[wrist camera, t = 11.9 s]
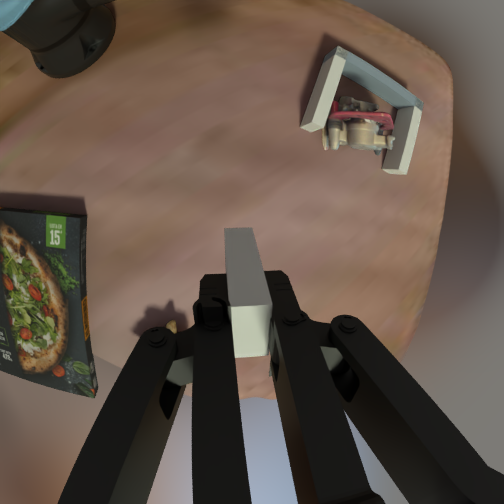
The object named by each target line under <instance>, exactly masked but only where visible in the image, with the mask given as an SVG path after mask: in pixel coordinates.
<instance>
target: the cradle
mask: <svg viewBox="0 0 504 504" xmlns="http://www.w3.org/2000/svg"><path fill="white" fill-rule="evenodd" d="M341 74H342V75H344V76H346V77H347V78H349V79H351V80H353V81H354V82H356V83H358V84H359V85H361V86H363V87H364V88H366V89H368V90H369V91H371V92H372V93H374V94H376V95H377V96H379V97H380V98H382V99H383V100H385V101H386V102H388V103H389V104H391V105H392V106H394V107H395V108H397V109H398V111H397V115H396V119H395V123H394V128H393V131H392V135H391V136H394V137H395V140H393V144H392V145H393V147H392V149H391V150H389V149H387V153H386V156H385V159H384V163H383V166H382V170H384V171H386V172H387V173H389V174H404V175H406V174H407V171H408V167H409V164H410V160H411V156H412V152H413V149H414V145H415V141H416V136H417V132H418V128H419V123H420V119H421V114H422V109H423V104H424V103H423V102H422V101H421V100H419V99H418V98H417V97H416V96H414V95H413V94H412V93H410V92H409V91H408V90H406V89H405V88H404V87H402V86H401V85H400V84H398V83H397V82H396V81H394V80H393V79H391V78H390V77H388V76H387V75H385V74H384V73H383V72H381V71H380V70H378V69H376V68H375V67H373V66H372V65H370V64H369V63H367V62H365V61H364V60H362V59H361V58H359V57H357V56H356V55H354V54H352V53H350V52H349V51H347V50H345V49H343V48H341V47H340V46H337V47H336V48H334V49H333V50H332V51H330V52H329V53H328V54H327V55H325V58H324V60H323V63H322V66H321V69H320V72H319V75H318V77H317V80H316V83H315V86H314V89H313V92H312V94H311V97H310V100H309V103H308V106H307V108H306V111H305V114H304V117H303V120H302V122H301V125H300V128H302V129H305V130H307V131H309V132H313V131H316V130H319V129H322V128H324V126H325V123H326V120H327V117H328V114H329V111H330V108H331V105H332V102H333V99H334V96H335V93H336V90H337V87H338V84H339V80H340V77H341Z"/></svg>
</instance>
